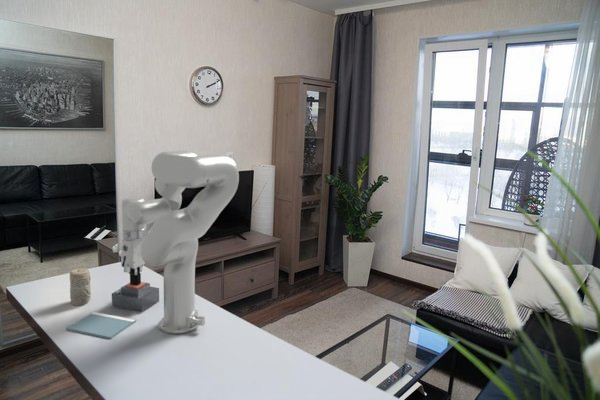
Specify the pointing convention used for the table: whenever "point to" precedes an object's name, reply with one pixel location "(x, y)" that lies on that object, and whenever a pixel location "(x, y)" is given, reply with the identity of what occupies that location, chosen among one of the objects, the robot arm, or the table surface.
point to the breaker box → (135, 298)
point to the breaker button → (135, 285)
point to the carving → (80, 286)
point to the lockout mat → (101, 325)
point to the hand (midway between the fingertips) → (135, 283)
